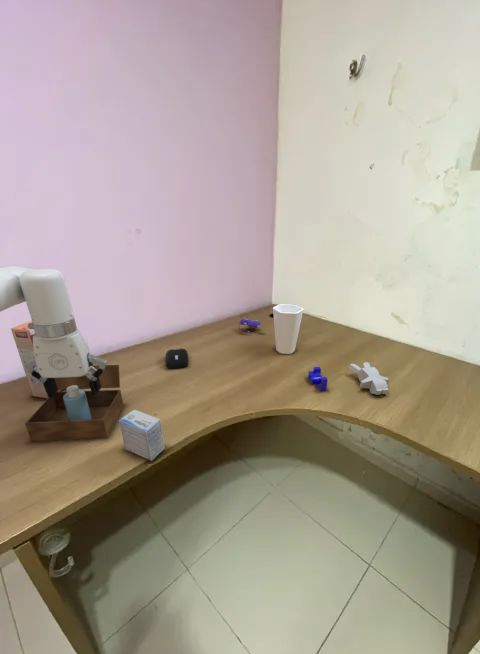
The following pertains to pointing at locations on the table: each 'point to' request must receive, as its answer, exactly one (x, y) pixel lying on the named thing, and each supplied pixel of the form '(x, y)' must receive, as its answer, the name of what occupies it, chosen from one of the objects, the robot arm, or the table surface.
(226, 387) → the table surface
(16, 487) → the table surface
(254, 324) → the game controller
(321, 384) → the cable holder
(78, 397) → the bottle
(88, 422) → the wooden box
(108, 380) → the flap
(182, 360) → the computer mouse
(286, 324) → the cup
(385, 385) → the bunny figurine
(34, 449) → the table surface
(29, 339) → the cracker box
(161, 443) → the medicine box
